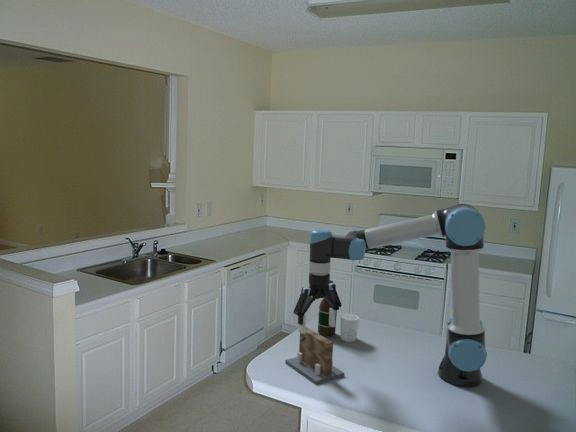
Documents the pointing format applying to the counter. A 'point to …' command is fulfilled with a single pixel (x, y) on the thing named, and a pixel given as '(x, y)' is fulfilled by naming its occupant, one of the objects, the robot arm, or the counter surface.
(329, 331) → the beer bottle
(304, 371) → the board
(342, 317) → the white cup
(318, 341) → the brown wooden board
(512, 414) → the counter surface
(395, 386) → the counter surface
